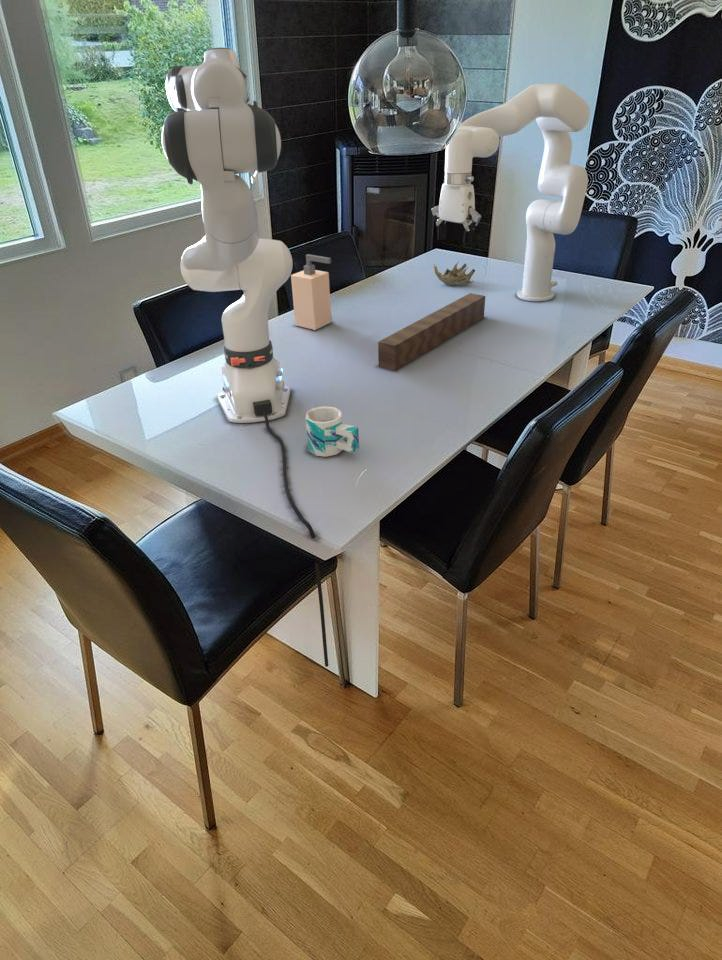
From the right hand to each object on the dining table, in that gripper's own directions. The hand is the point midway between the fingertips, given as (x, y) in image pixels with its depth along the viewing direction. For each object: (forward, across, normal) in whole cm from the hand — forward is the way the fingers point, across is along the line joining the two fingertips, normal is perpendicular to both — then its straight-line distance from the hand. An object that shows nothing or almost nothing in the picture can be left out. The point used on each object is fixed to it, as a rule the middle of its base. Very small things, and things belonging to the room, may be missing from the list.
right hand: (454, 242), depth 197 cm
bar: (+26, -4, +11) cm, 29 cm away
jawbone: (+26, +28, -36) cm, 52 cm away
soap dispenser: (+27, +34, +26) cm, 50 cm away
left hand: (-19, +30, +54) cm, 65 cm away
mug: (+28, -30, +76) cm, 87 cm away
